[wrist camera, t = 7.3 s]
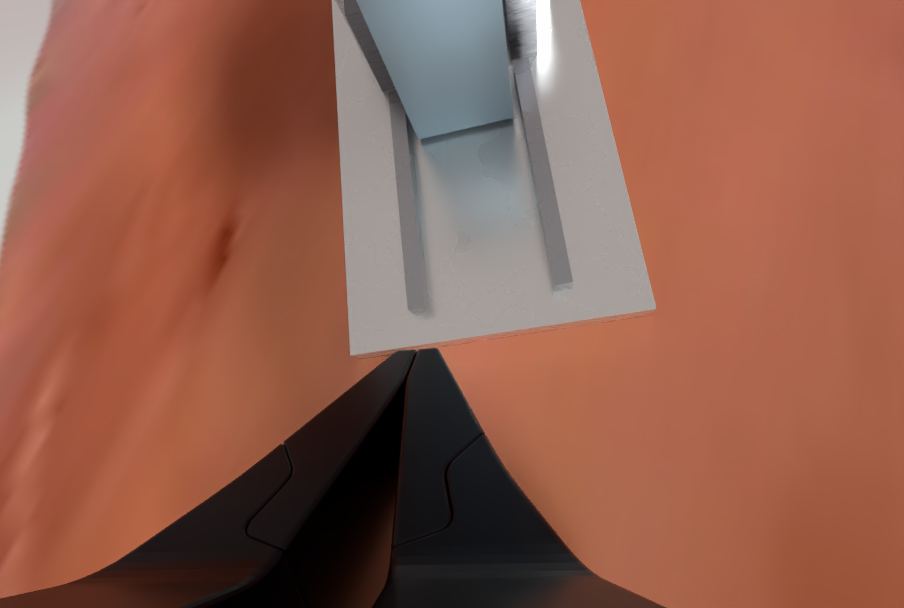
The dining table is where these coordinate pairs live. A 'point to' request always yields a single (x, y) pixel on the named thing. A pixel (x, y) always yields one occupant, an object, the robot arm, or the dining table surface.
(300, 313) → the dining table surface
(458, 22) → the light blue bar
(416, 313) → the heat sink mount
